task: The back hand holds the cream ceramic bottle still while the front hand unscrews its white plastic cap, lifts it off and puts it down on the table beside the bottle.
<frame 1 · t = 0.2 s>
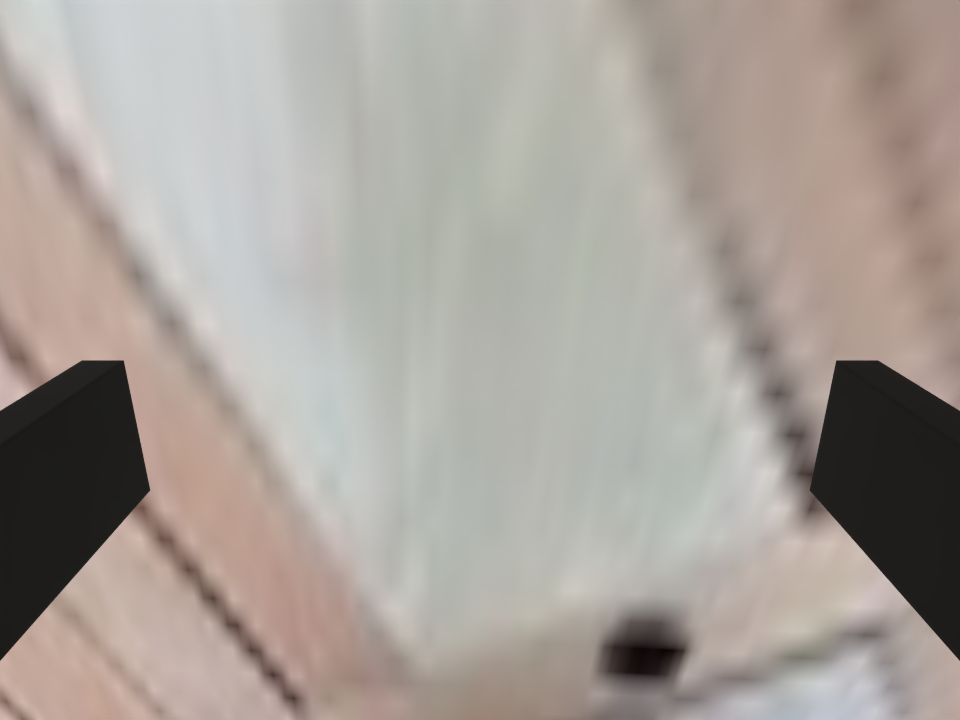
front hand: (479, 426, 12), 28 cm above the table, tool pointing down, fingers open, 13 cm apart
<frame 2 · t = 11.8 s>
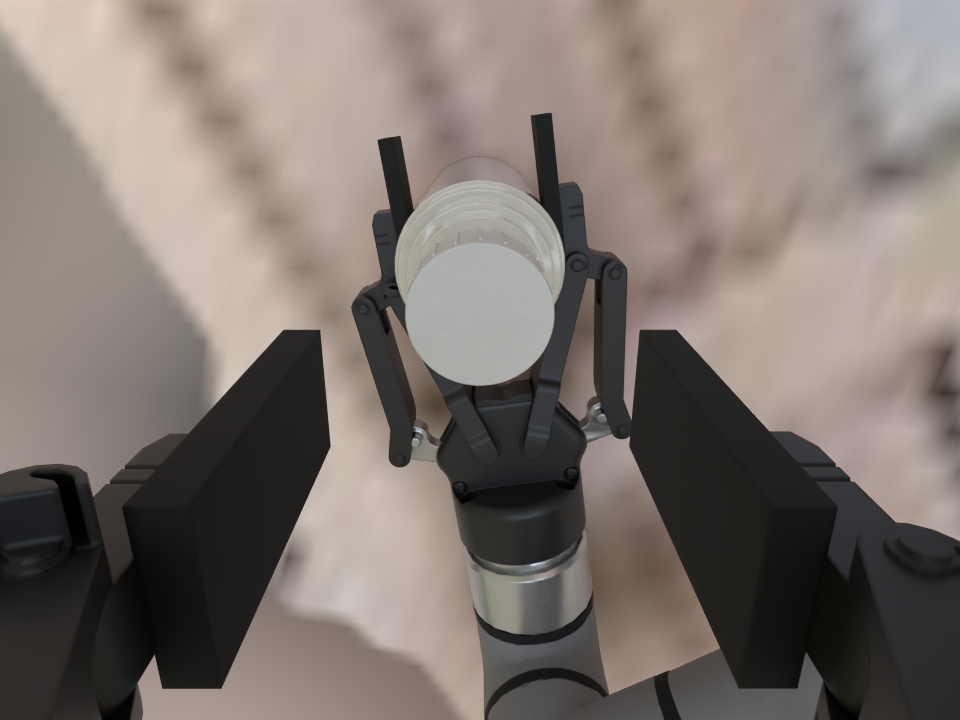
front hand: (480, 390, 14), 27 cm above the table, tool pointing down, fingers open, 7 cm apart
back hand: (464, 127, 31), fingers closed on bottle, 7 cm apart
bottle: (479, 214, 39), on the table, touching back hand
cap: (479, 314, 19), point 21 cm above the table, screwed on, not yet turned
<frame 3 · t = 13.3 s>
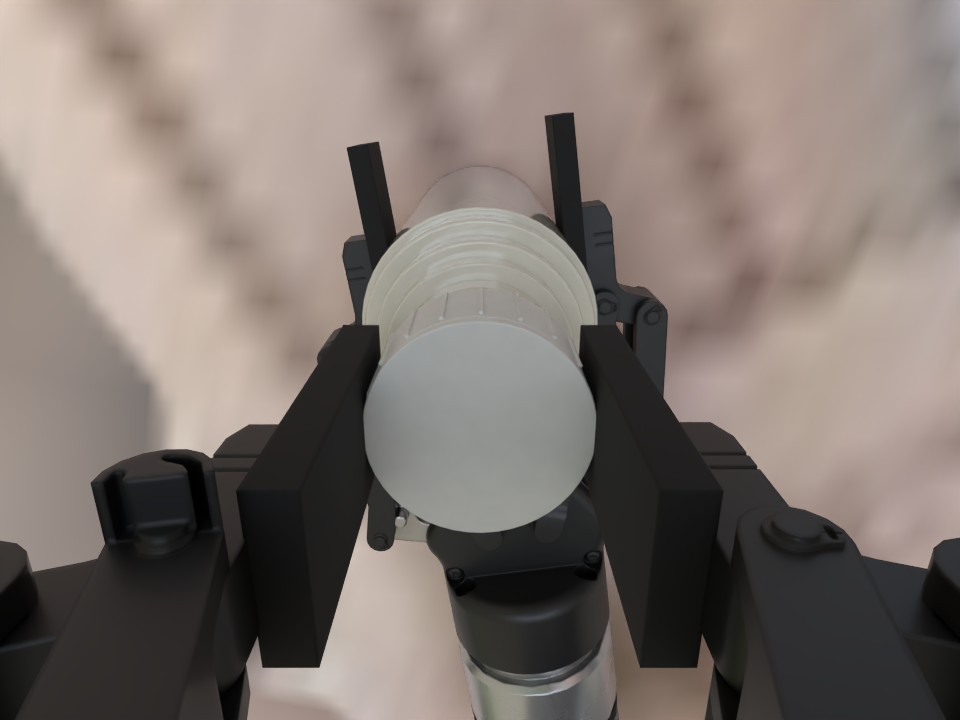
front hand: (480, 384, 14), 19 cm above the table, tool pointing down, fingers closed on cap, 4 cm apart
back hand: (460, 130, 24), fingers closed on bottle, 7 cm apart
bottle: (480, 235, 32), on the table, touching back hand
cap: (479, 426, 12), point 21 cm above the table, screwed on, not yet turned, touching front hand
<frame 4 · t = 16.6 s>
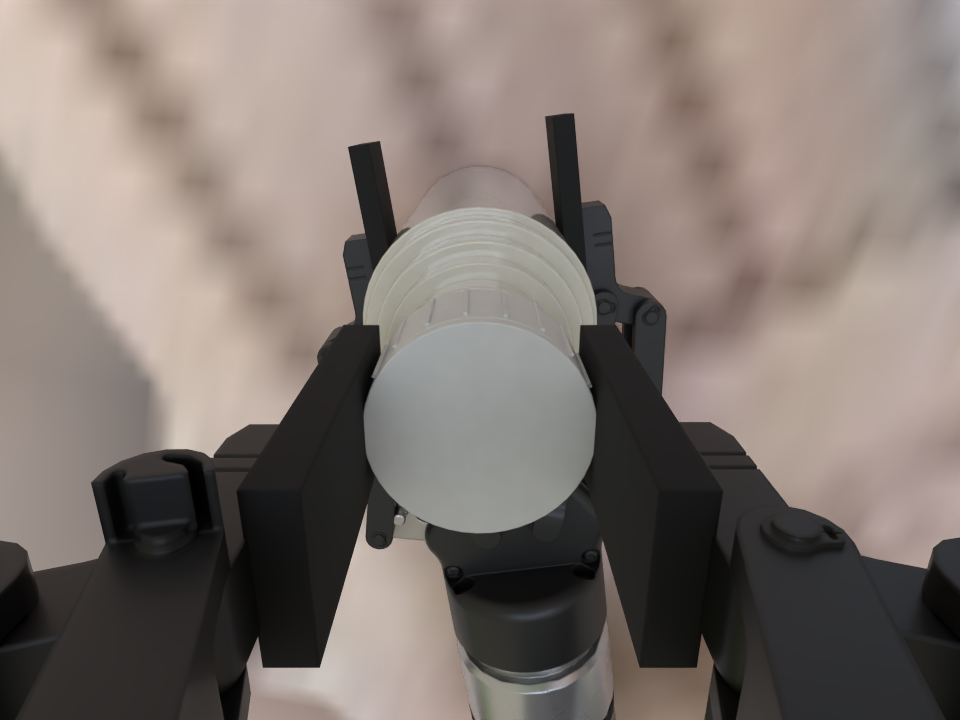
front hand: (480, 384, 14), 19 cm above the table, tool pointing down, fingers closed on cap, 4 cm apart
back hand: (461, 130, 24), fingers closed on bottle, 7 cm apart
bottle: (480, 235, 32), on the table, touching back hand
cap: (479, 427, 12), point 21 cm above the table, turned 102° so far, risen 0.1 cm, still on its thread, touching front hand
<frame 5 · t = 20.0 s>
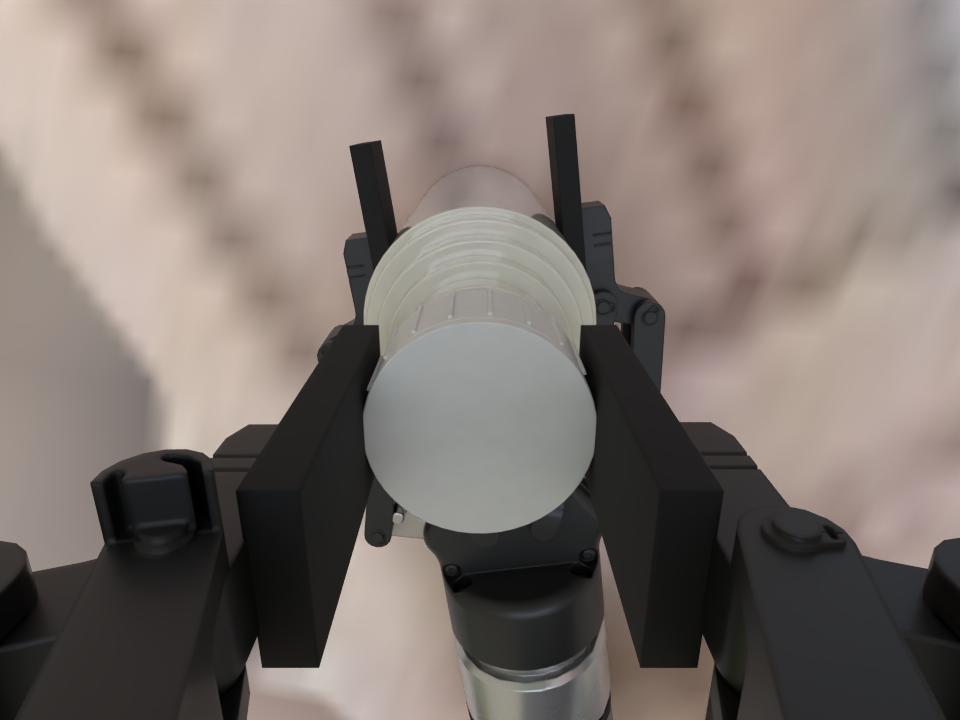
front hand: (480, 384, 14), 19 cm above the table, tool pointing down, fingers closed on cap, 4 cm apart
back hand: (461, 130, 24), fingers closed on bottle, 7 cm apart
bottle: (479, 235, 32), on the table, touching back hand
cap: (479, 427, 12), point 21 cm above the table, turned 205° so far, risen 0.2 cm, still on its thread, touching front hand
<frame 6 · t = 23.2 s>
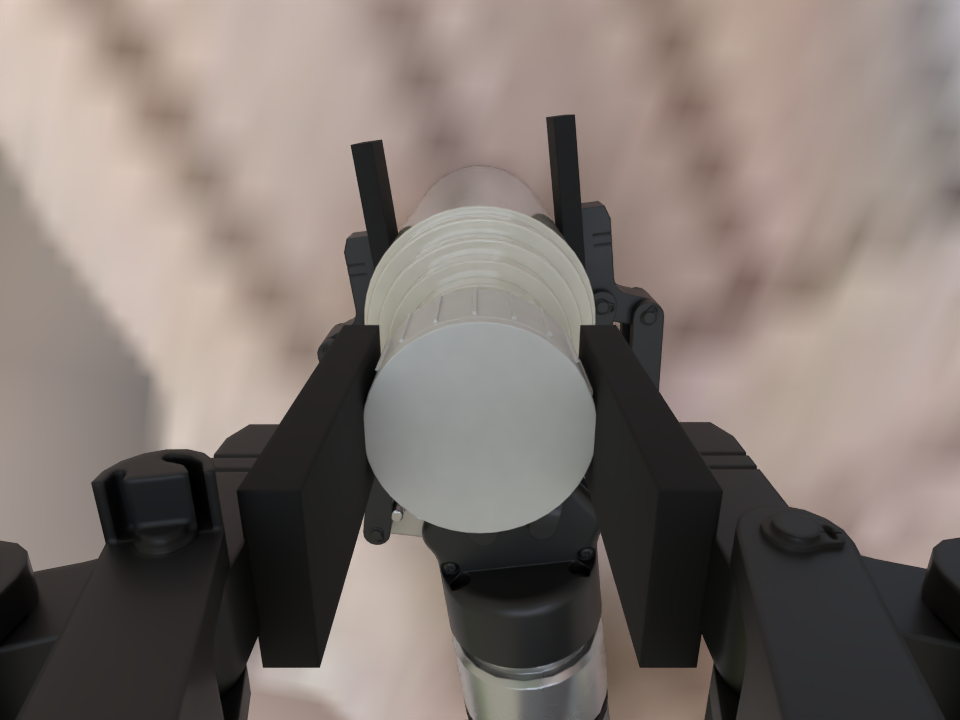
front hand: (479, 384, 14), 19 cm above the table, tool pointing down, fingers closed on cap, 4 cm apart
back hand: (462, 130, 24), fingers closed on bottle, 7 cm apart
bottle: (479, 234, 32), on the table, touching back hand
cap: (479, 427, 12), point 21 cm above the table, turned 307° so far, risen 0.4 cm, still on its thread, touching front hand
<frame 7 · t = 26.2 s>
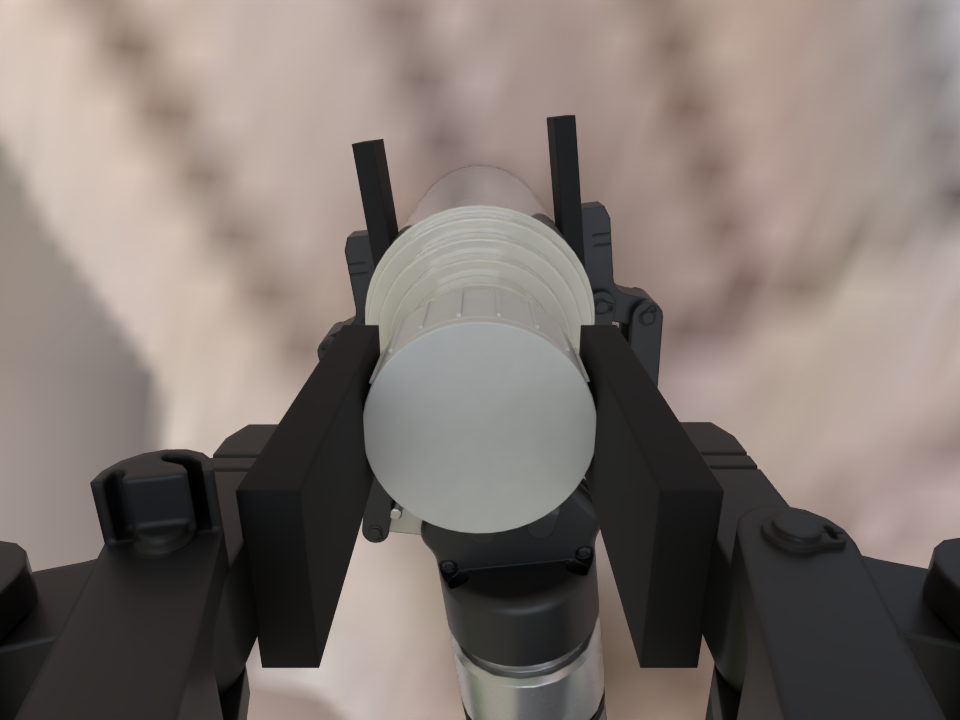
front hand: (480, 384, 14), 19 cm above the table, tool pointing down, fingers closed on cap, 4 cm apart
back hand: (463, 130, 25), fingers closed on bottle, 7 cm apart
bottle: (479, 234, 32), on the table, touching back hand
cap: (479, 427, 12), point 21 cm above the table, turned 410° so far, risen 0.5 cm, still on its thread, touching front hand
when the front hand's fingers open (1 cm above the table, at t = 32.9 s): cap drops 1 cm, point 2 cm above the table.
when the back hand's fingers open (6 cm above the table, at t = 34.1 s): bottle stays where it is, on the table.
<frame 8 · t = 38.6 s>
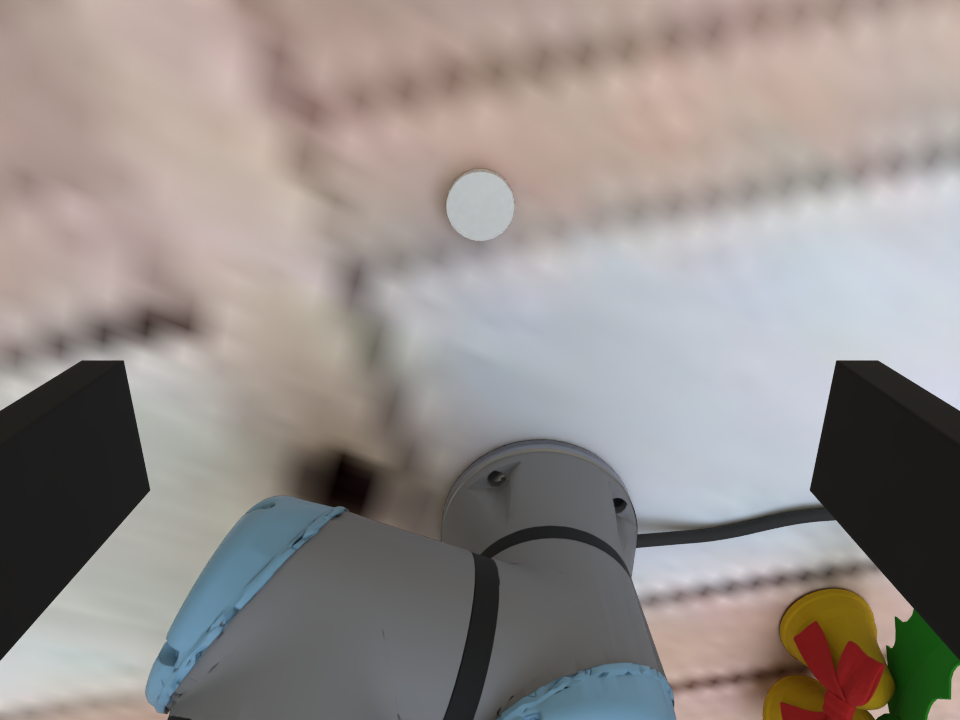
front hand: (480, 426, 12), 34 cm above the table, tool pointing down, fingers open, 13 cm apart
ornament: (820, 620, 56), on the table
cap: (480, 206, 42), point 2 cm above the table, off its thread
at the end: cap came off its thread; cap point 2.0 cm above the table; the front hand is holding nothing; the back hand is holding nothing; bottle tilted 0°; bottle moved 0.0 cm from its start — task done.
